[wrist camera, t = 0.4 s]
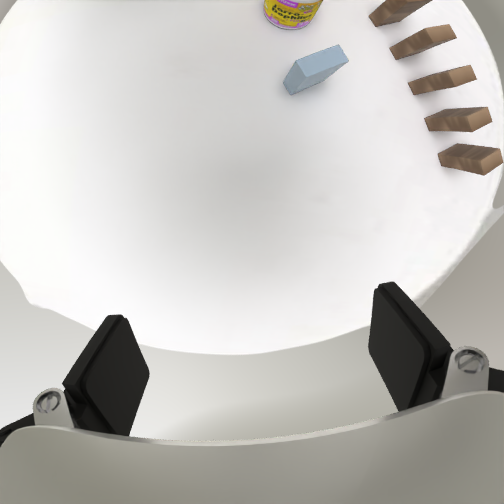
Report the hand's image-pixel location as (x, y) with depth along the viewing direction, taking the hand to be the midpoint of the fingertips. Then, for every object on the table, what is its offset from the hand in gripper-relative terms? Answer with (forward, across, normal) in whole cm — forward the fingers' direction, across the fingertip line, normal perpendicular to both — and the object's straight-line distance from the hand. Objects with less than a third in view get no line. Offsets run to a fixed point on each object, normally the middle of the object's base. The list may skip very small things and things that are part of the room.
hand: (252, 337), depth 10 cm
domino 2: (+28, -23, -26) cm, 45 cm away
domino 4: (+29, -28, -15) cm, 43 cm away
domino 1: (+29, -9, -15) cm, 33 cm away
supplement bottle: (+29, -9, -26) cm, 40 cm away
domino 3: (+29, -25, -21) cm, 43 cm away
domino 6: (+29, -32, -4) cm, 43 cm away
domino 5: (+29, -30, -10) cm, 42 cm away
